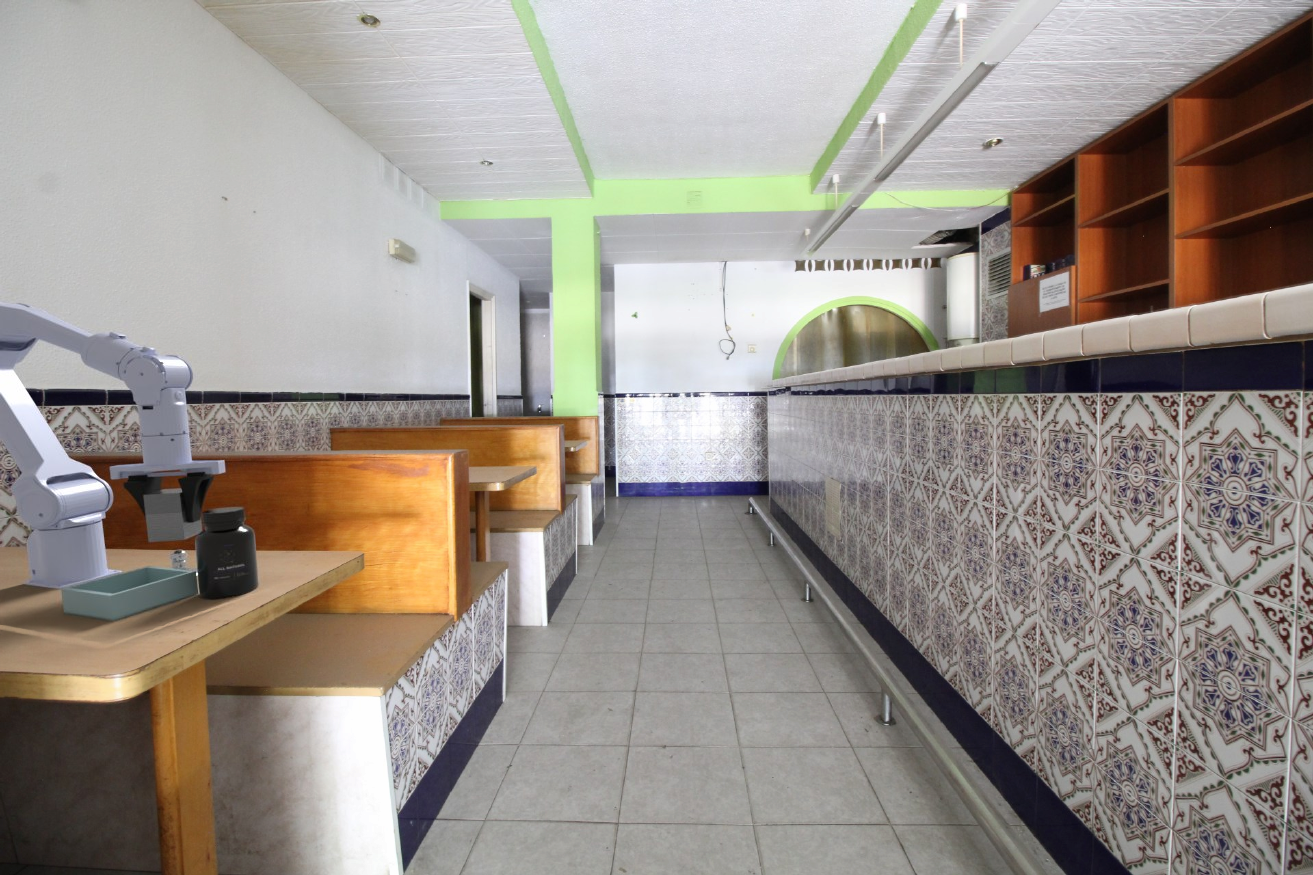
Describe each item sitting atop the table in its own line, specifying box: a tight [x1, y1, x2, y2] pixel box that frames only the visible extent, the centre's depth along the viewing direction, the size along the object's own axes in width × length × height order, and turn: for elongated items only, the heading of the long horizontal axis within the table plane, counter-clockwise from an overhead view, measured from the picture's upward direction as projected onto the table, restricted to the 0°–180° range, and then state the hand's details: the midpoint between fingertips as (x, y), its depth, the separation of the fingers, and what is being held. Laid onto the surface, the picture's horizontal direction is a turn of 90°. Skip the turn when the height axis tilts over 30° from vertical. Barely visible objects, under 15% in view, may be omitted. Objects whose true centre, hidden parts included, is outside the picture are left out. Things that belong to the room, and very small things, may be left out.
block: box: [143, 487, 203, 543], centre depth 92 cm, size 5×5×7 cm
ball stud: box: [169, 549, 198, 576], centre depth 92 cm, size 6×6×4 cm
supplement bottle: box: [194, 506, 259, 601], centre depth 83 cm, size 7×7×12 cm
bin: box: [60, 565, 199, 622], centre depth 80 cm, size 10×10×4 cm
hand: (174, 522), depth 92 cm, fingers closed on block, 5 cm apart
